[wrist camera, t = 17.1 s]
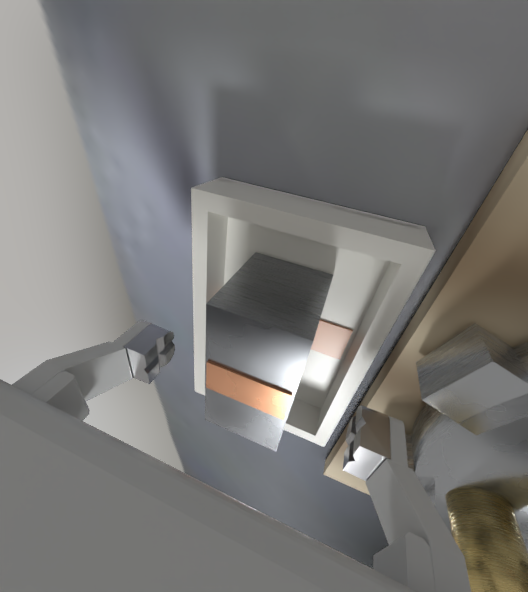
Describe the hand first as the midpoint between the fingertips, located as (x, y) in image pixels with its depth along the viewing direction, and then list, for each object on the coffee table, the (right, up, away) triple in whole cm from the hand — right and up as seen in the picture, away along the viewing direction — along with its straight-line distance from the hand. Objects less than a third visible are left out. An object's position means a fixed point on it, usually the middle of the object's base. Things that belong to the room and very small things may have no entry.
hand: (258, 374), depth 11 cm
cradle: (+1, +2, +3) cm, 4 cm away
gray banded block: (+1, +2, +3) cm, 4 cm away
